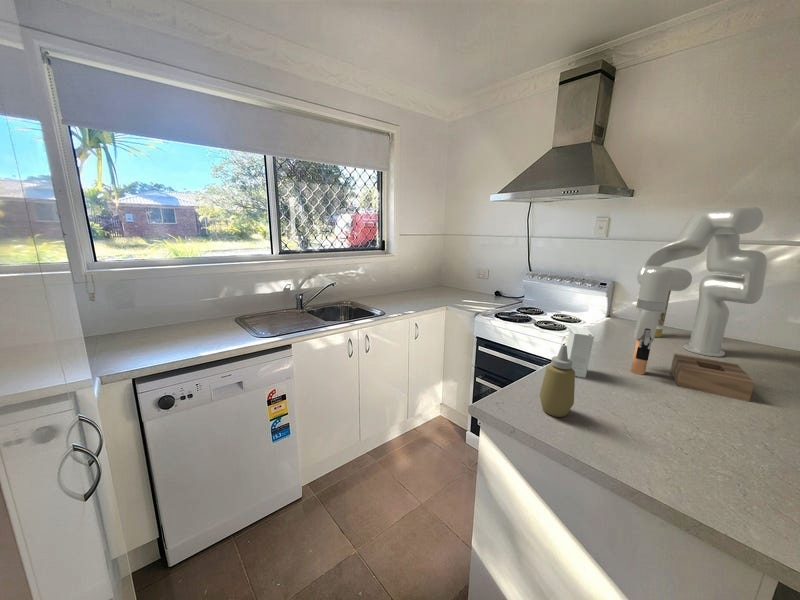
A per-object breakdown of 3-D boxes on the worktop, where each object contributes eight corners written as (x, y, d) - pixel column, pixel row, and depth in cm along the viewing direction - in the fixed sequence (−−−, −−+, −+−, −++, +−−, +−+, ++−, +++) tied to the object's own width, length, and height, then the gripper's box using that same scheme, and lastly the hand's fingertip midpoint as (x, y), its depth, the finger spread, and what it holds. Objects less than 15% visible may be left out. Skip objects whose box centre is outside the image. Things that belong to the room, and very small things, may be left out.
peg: (630, 368, 114) (637, 330, 111) (644, 371, 112) (652, 332, 109) (630, 372, 111) (638, 333, 108) (645, 375, 109) (653, 335, 106)
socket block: (670, 369, 115) (674, 353, 114) (732, 381, 107) (737, 364, 105) (677, 385, 102) (681, 367, 101) (749, 401, 93) (754, 382, 92)
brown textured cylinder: (664, 338, 151) (675, 285, 146) (647, 336, 152) (658, 284, 147) (656, 334, 157) (666, 283, 152) (640, 332, 159) (650, 282, 153)
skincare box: (562, 366, 114) (568, 325, 111) (581, 368, 113) (588, 327, 109) (566, 375, 106) (573, 332, 103) (587, 378, 105) (594, 334, 102)
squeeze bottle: (570, 424, 79) (581, 354, 75) (535, 413, 83) (544, 346, 79) (573, 409, 86) (583, 344, 82) (540, 400, 90) (548, 338, 86)
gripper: (635, 300, 116) (626, 346, 119) (638, 308, 101) (628, 360, 105) (662, 303, 112) (652, 350, 115) (668, 312, 97) (657, 366, 101)
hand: (640, 355), depth 110 cm, fingers open, 9 cm apart
